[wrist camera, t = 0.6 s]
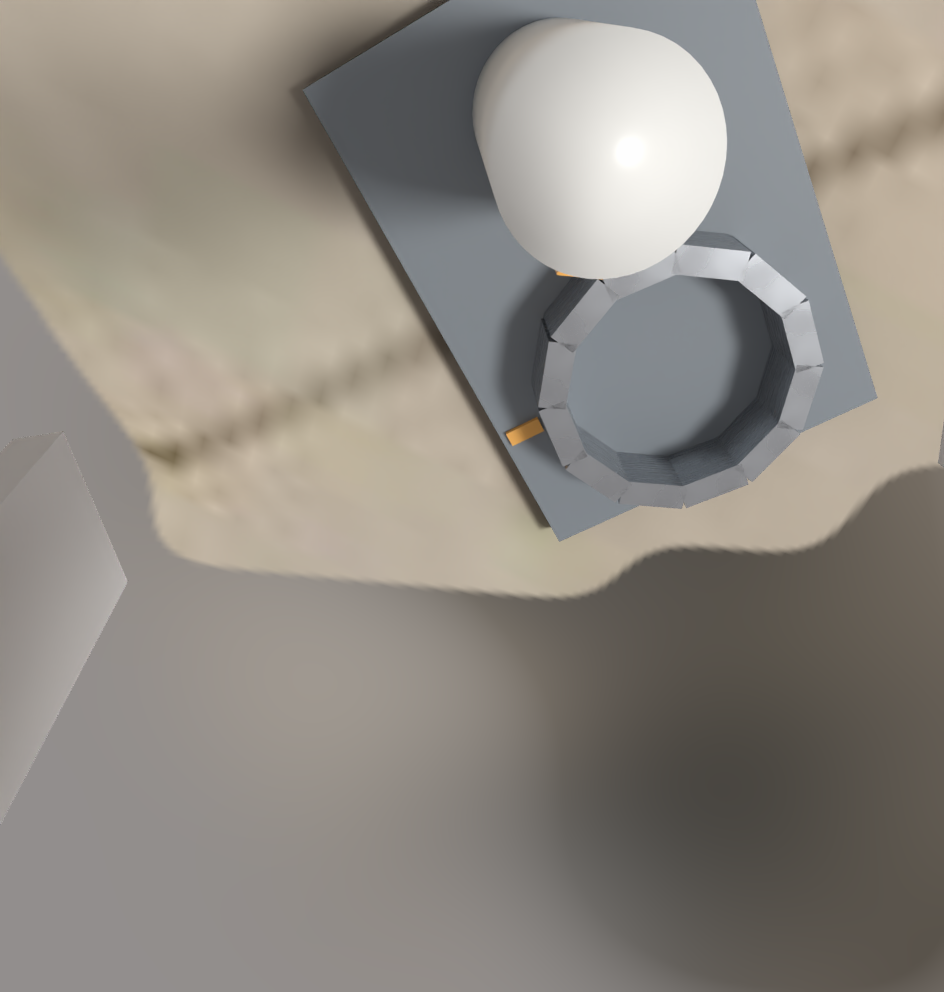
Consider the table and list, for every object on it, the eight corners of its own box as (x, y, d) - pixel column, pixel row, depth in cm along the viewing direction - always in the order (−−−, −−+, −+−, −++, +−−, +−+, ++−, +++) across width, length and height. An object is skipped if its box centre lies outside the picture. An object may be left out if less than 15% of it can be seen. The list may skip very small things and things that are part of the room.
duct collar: (557, 215, 30) (566, 232, 28) (828, 244, 31) (858, 263, 29) (518, 465, 35) (523, 496, 33) (753, 484, 36) (774, 515, 34)
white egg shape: (482, 7, 27) (506, 11, 18) (653, 28, 28) (755, 43, 19) (463, 196, 30) (476, 277, 21) (618, 213, 30) (692, 299, 22)
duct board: (307, 86, 29) (301, 90, 28) (696, -151, 26) (709, -158, 25) (555, 526, 38) (560, 544, 37) (864, 386, 35) (879, 400, 34)
